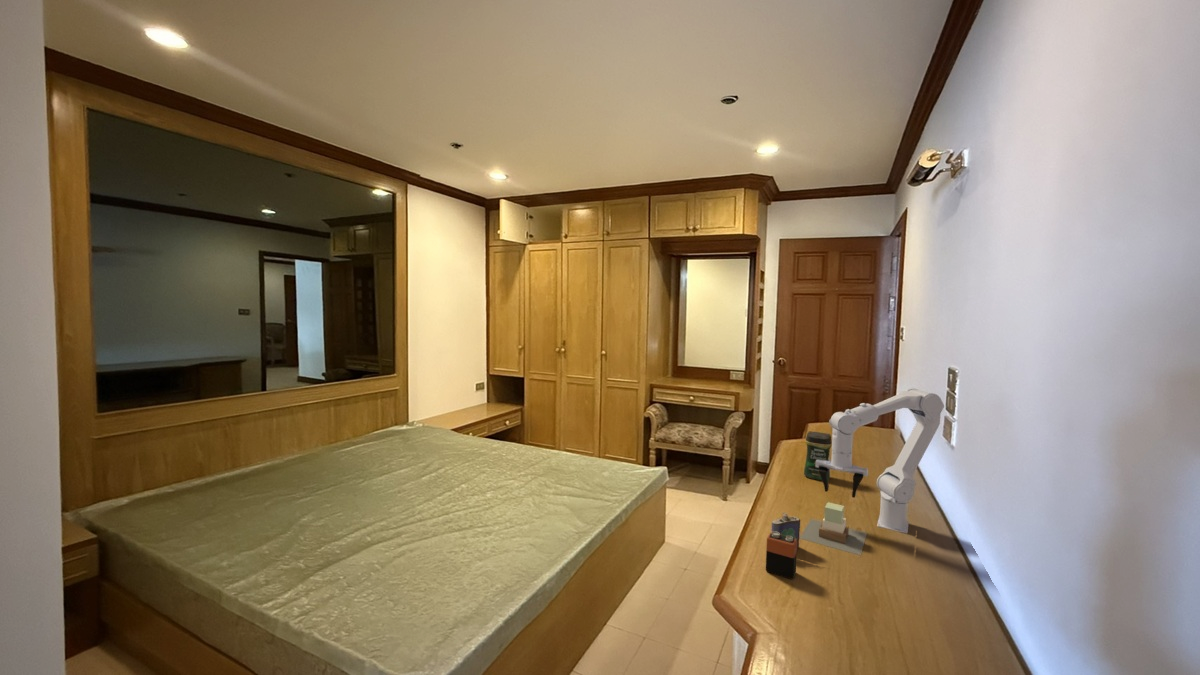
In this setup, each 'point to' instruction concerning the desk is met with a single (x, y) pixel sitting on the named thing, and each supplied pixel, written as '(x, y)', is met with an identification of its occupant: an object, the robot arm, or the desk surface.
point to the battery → (781, 555)
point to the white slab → (834, 526)
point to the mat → (851, 545)
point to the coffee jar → (816, 453)
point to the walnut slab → (834, 534)
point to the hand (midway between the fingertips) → (839, 493)
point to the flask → (787, 526)
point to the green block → (834, 513)
